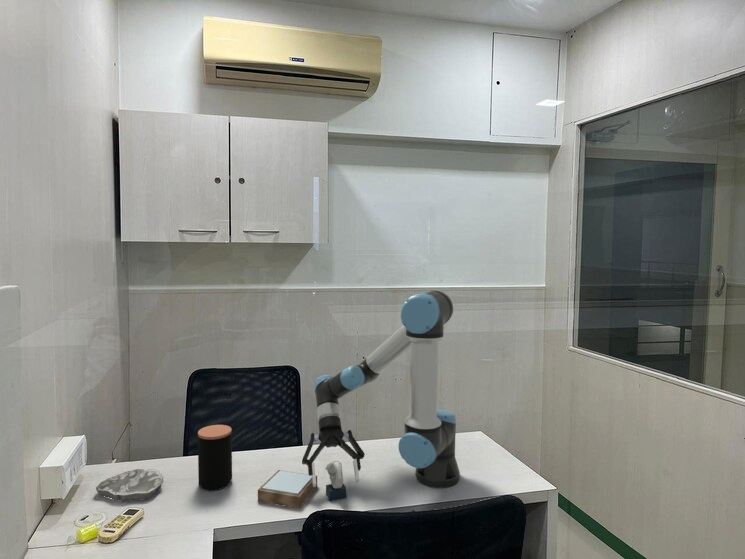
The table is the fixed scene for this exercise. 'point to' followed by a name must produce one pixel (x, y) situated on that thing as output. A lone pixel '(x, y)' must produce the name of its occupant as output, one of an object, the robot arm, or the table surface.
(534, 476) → the table surface
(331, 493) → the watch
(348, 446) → the robot arm
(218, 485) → the coffee jar
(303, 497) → the walnut plinth
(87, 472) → the table surface
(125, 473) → the brain slice
